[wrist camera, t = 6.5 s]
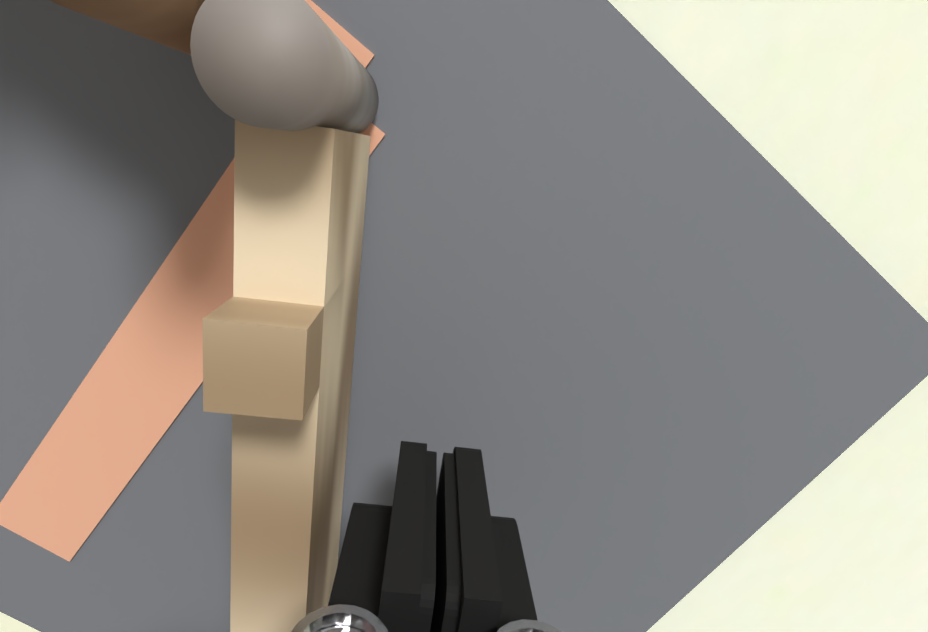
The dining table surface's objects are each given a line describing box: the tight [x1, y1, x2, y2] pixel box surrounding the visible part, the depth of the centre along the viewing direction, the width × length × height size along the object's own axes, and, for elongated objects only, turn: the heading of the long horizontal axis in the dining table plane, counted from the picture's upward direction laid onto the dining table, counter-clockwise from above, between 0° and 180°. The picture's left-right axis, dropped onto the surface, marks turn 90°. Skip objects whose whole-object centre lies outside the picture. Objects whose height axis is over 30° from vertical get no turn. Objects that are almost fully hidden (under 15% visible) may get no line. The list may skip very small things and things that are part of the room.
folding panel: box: [190, 0, 379, 632], centre depth 10 cm, size 13×1×5 cm, turn 173°
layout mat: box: [0, 0, 928, 632], centre depth 12 cm, size 28×20×1 cm
